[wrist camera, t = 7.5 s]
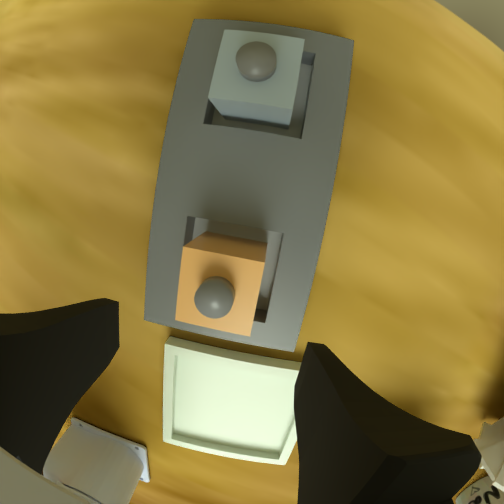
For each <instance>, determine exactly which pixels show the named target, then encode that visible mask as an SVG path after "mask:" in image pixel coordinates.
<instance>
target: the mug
mask: <svg viewBox="0 0 504 504" xmlns="http://www.w3.org/2000/svg"><path fill="white" fill-rule="evenodd" d="M493 482H494V481H492V480H491V478H490V477H489V476H486V477H484V478H481V479H480V480H478V481H476V482H475V483H473V484H472V485H470V486H469V487H467V488H466V489H465V490H464V491H463V492H462V493H460V495H459V496H458V497H457V498H456V504H504V492H503V491H501V490H500V489H498V488H497V487H495V486H494V485H492V483H493Z"/></svg>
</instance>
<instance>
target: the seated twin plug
mask: <svg viewBox="0 0 504 504" xmlns="http://www.w3.org/2000/svg"><path fill="white" fill-rule="evenodd" d="M304 41H305V39H301V38H295V37H289V36H283V35H276V34H269V33H260V32H251V31H240V30H224V33H223V37H222V41H221V45H220V49H219V53H218V57H217V61H216V65H215V69H214V73H213V77H212V82H211V86H210V91H209V95H208V98H209V100H210V101H211V102H212V104H213V105H214V106H215V107H216V109H217V110H218V111H219V112H220V114H221V115H222V116H223V118H224V119H225V120H232V121H240V122H247V123H253V124H260V125H266V126H272V127H277V128H283V129H289V124H290V120H291V116H292V111H293V106H294V100H295V95H296V89H297V83H298V77H299V71H300V65H301V59H302V53H303V47H304Z"/></svg>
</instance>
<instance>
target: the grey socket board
mask: <svg viewBox="0 0 504 504" xmlns="http://www.w3.org/2000/svg"><path fill="white" fill-rule="evenodd" d="M224 30H240V31H251V32H260V33H269V34H276V35H283V36H289V37H295V38H301V39H305V41H304V47H303V53H302V59H301V65H300V71H299V77H298V83H297V89H296V95H295V100H294V106H293V111H292V116H291V120H290V124H289V129H283V128H277V127H272V126H266V125H260V124H253V123H247V122H240V121H232V120H225V119H224V118H223V116H222V115H221V114H220V112H219V111H218V110H217V109H216V107H215V106H214V105H213V104H212V102H211V101H210V100H209V98H208V95H209V91H210V86H211V82H212V77H213V73H214V69H215V65H216V61H217V57H218V53H219V49H220V45H221V41H222V37H223V33H224ZM353 46H354V40H350V39H347V38H343V37H339V36H335V35H331V34H326V33H322V32H317V31H312V30H307V29H302V28H296V27H290V26H284V25H277V24H269V23H260V22H250V21H238V20H219V19H194V21H193V24H192V27H191V30H190V34H189V37H188V41H187V44H186V47H185V51H184V55H183V58H182V62H181V66H180V70H179V73H178V77H177V81H176V85H175V90H174V94H173V98H172V103H171V107H170V112H169V116H168V121H167V126H166V131H165V136H164V142H163V147H162V153H161V158H160V164H159V171H158V177H157V184H156V190H155V198H154V205H153V213H152V221H151V230H150V240H149V250H148V262H147V275H146V291H145V311H144V320H146V321H150V322H153V323H157V324H161V325H165V326H169V327H173V328H177V329H181V330H185V331H189V332H193V333H197V334H202V335H206V336H211V337H215V338H220V339H225V340H230V341H234V342H239V343H245V344H250V345H255V346H261V347H266V348H272V349H278V350H284V351H290V352H294V350H295V346H296V343H297V339H298V336H299V332H300V328H301V325H302V321H303V317H304V313H305V309H306V306H307V302H308V298H309V294H310V290H311V286H312V282H313V278H314V274H315V269H316V265H317V261H318V256H319V252H320V248H321V243H322V239H323V234H324V229H325V225H326V220H327V215H328V210H329V205H330V200H331V195H332V190H333V185H334V179H335V174H336V168H337V163H338V157H339V151H340V145H341V139H342V132H343V126H344V119H345V112H346V105H347V98H348V90H349V82H350V74H351V65H352V56H353ZM205 231H208V232H213V233H219V234H224V235H229V236H234V237H240V238H245V239H250V240H255V241H260V242H266V243H268V244H267V252H266V259H265V265H264V270H263V275H262V280H261V285H260V290H259V295H258V300H257V305H256V310H255V315H254V320H253V324H252V329H251V334H250V337H249V336H244V335H239V334H234V333H230V332H225V331H220V330H215V329H211V328H206V327H202V326H198V325H193V324H189V323H185V322H181V321H177V320H175V316H176V305H177V295H178V285H179V276H180V267H181V259H182V251H183V246H185V245H186V244H188V243H189V242H190V241H192V240H193V239H195V238H196V237H198V236H199V235H201V234H202V233H204V232H205Z"/></svg>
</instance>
